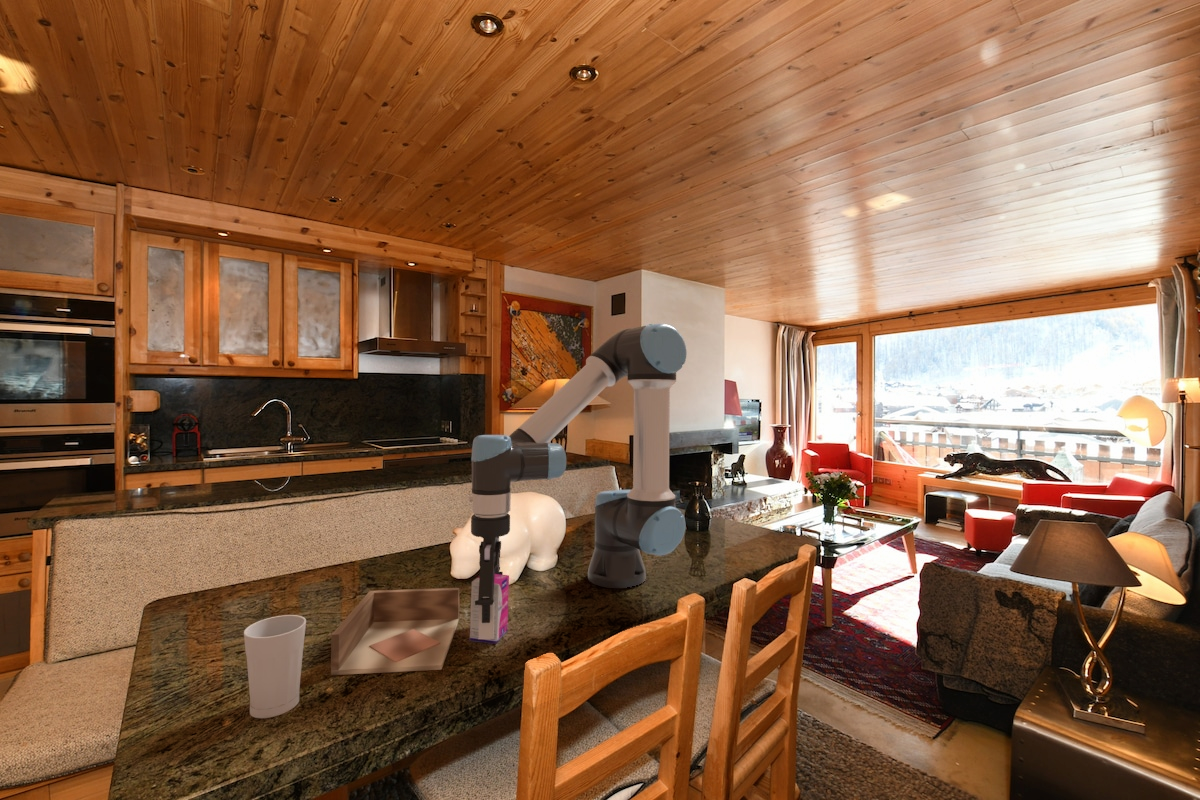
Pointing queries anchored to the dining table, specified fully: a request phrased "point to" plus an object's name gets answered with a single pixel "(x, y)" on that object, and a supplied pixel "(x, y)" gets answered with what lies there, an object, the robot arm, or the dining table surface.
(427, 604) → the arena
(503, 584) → the supplement box
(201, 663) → the dining table surface
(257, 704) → the cup
